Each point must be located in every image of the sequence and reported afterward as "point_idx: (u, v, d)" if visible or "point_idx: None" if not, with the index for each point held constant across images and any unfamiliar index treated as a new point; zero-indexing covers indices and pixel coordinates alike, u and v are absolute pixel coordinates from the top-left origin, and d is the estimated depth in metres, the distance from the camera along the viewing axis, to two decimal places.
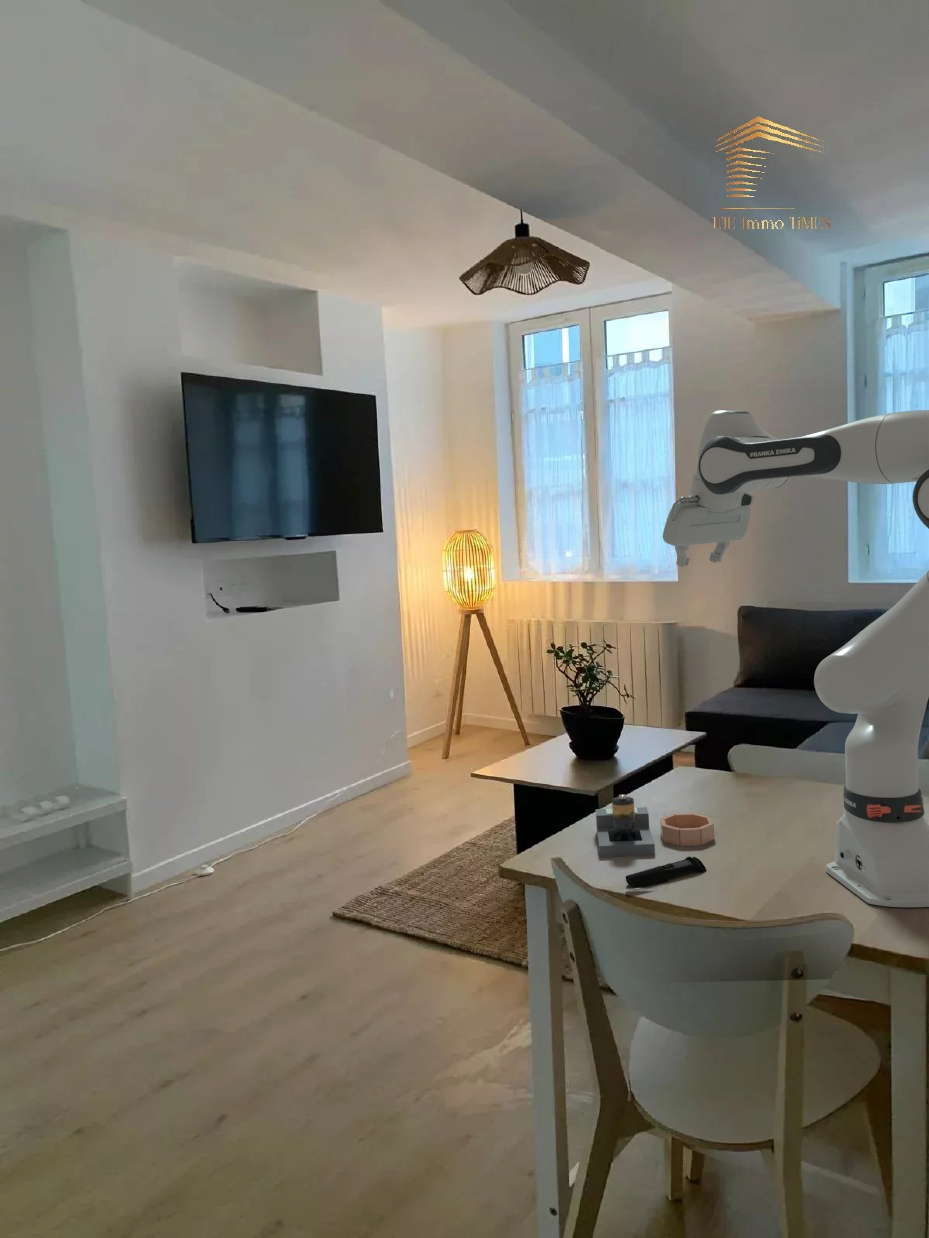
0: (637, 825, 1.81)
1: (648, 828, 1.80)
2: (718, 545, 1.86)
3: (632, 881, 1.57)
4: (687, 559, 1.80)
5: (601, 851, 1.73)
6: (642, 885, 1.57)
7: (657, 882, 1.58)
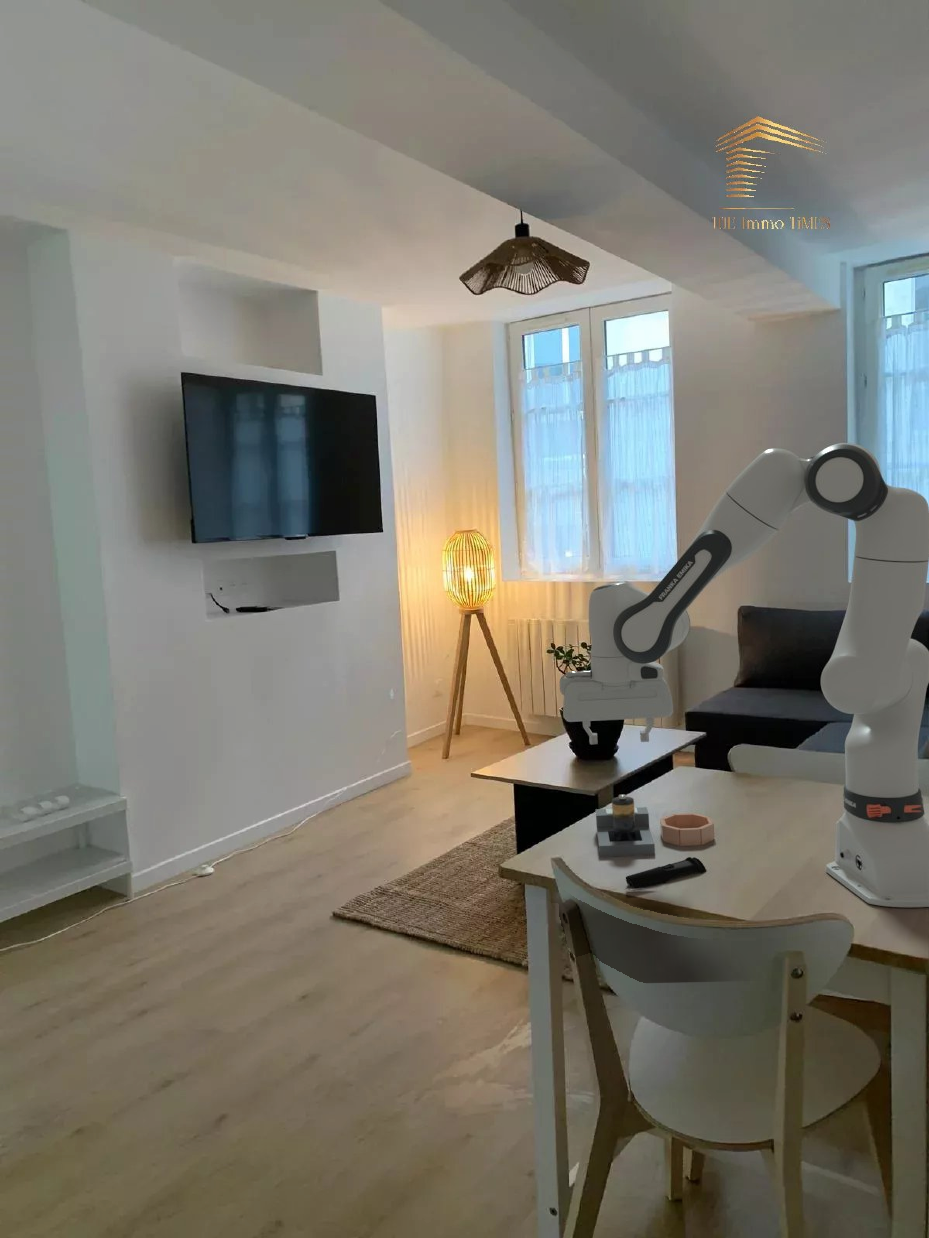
0: (637, 825, 1.81)
1: (648, 828, 1.80)
2: (647, 723, 1.75)
3: (632, 882, 1.56)
4: (594, 736, 1.75)
5: (601, 851, 1.73)
6: (642, 886, 1.57)
7: (657, 883, 1.58)
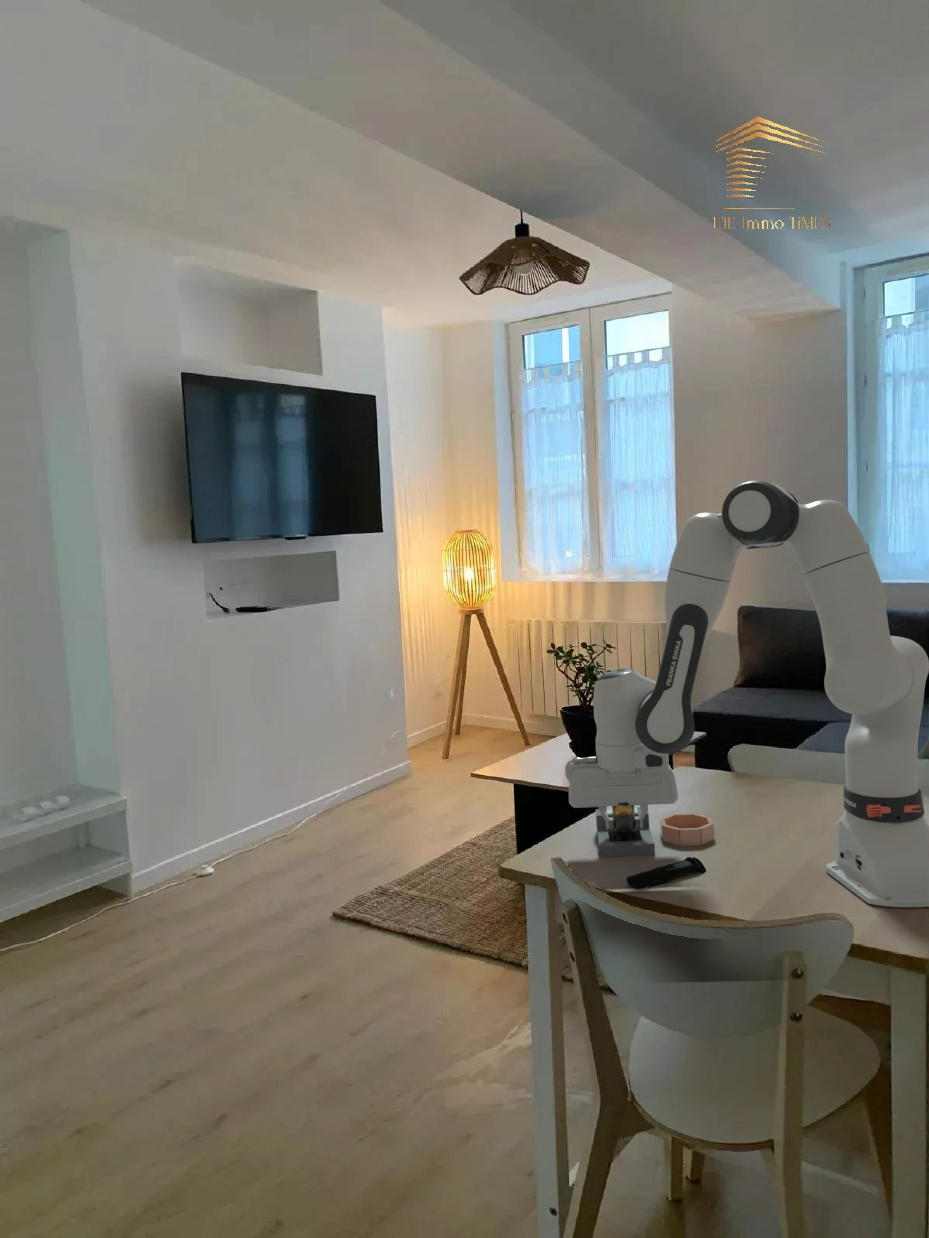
0: None
1: (648, 828, 1.80)
2: (642, 809, 1.77)
3: (633, 882, 1.56)
4: (610, 821, 1.76)
5: (601, 851, 1.73)
6: (643, 886, 1.56)
7: (658, 883, 1.57)
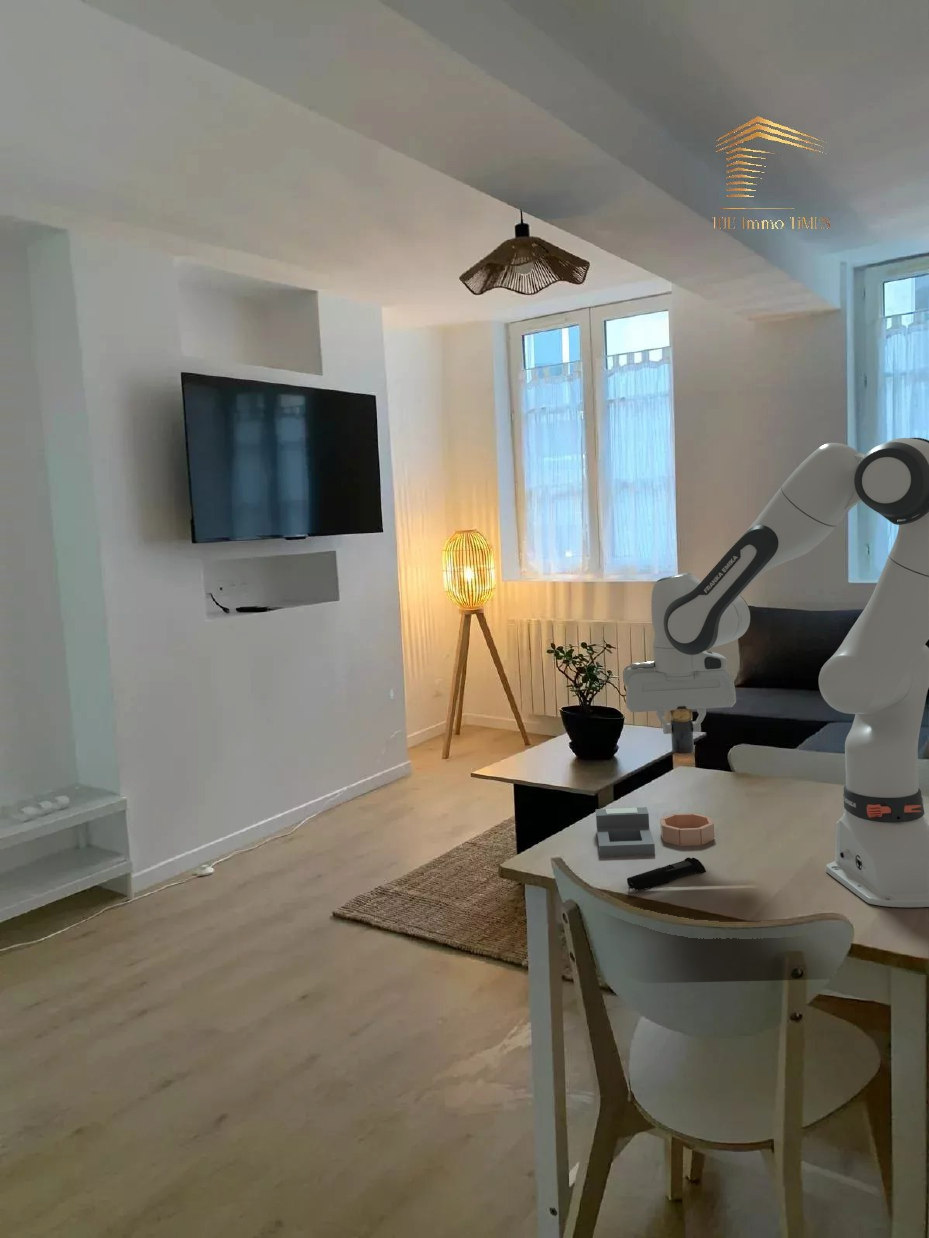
0: (637, 825, 1.81)
1: (648, 828, 1.80)
2: (699, 714, 1.78)
3: (634, 883, 1.56)
4: (668, 726, 1.77)
5: (601, 851, 1.73)
6: (644, 887, 1.56)
7: (658, 884, 1.57)
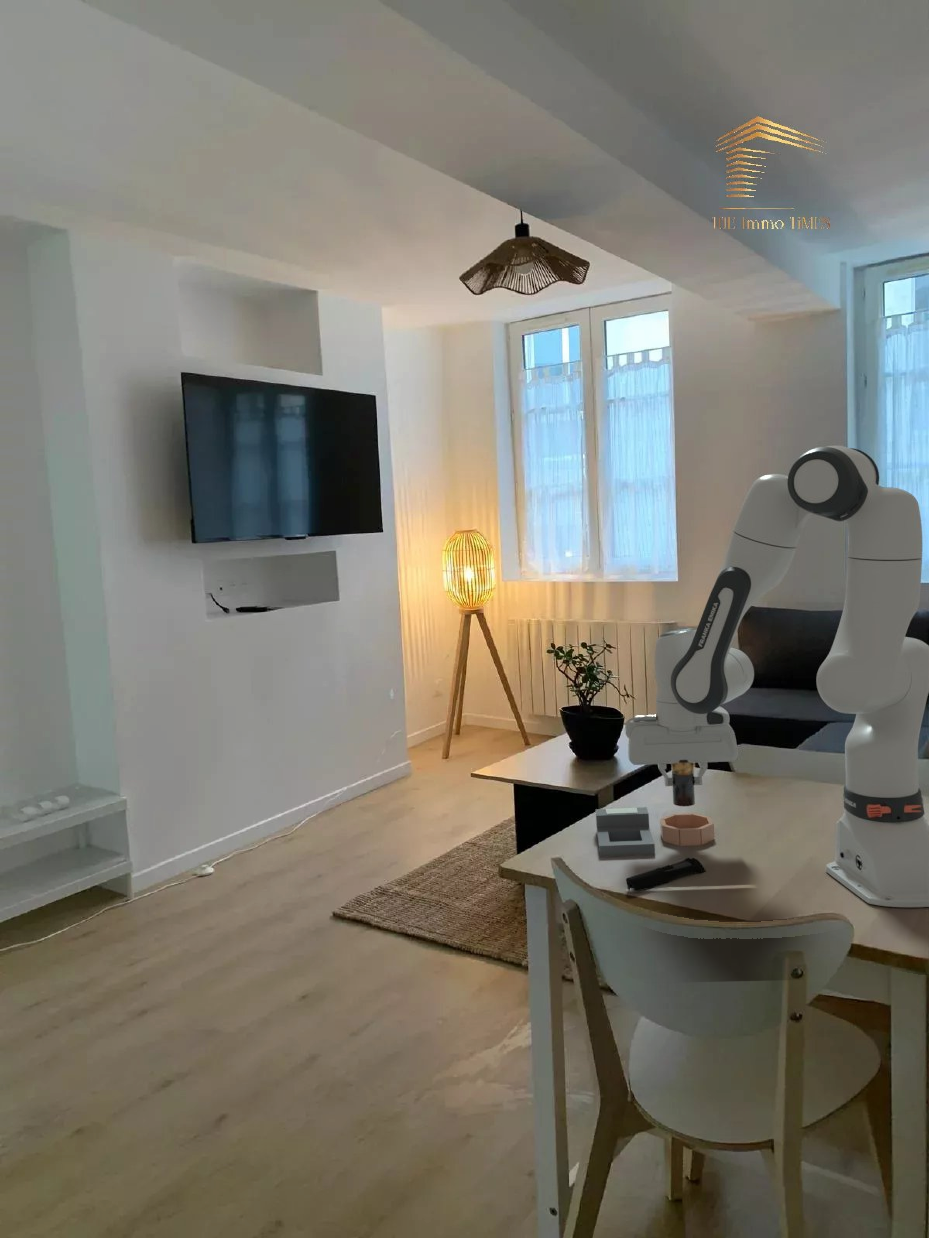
0: (637, 825, 1.81)
1: (648, 828, 1.80)
2: None
3: (633, 883, 1.56)
4: (670, 778, 1.78)
5: (601, 851, 1.73)
6: (643, 887, 1.56)
7: (657, 884, 1.57)
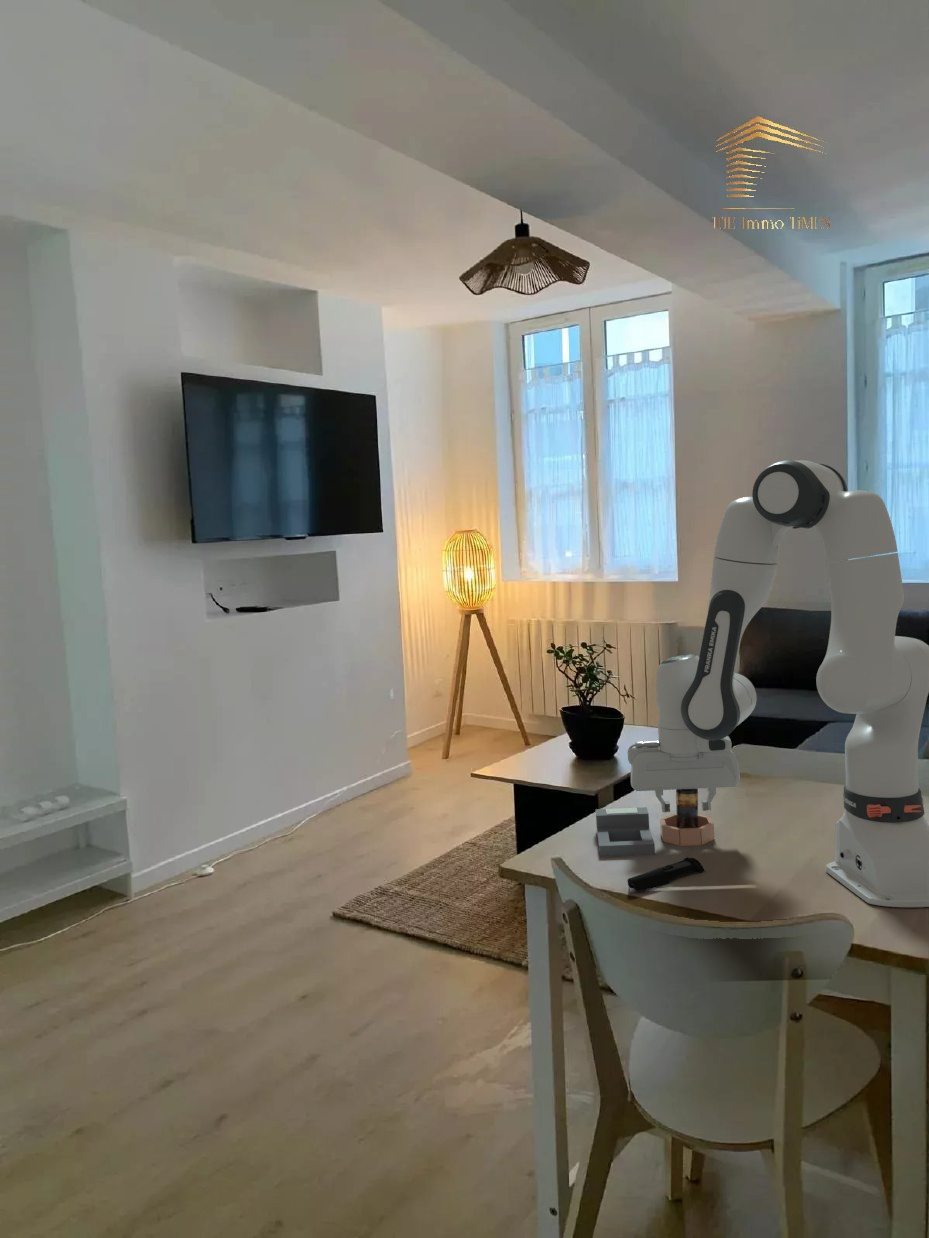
0: (637, 825, 1.81)
1: (648, 828, 1.80)
2: (709, 792, 1.79)
3: (634, 884, 1.56)
4: (667, 804, 1.79)
5: (601, 851, 1.73)
6: (644, 888, 1.56)
7: (659, 884, 1.57)
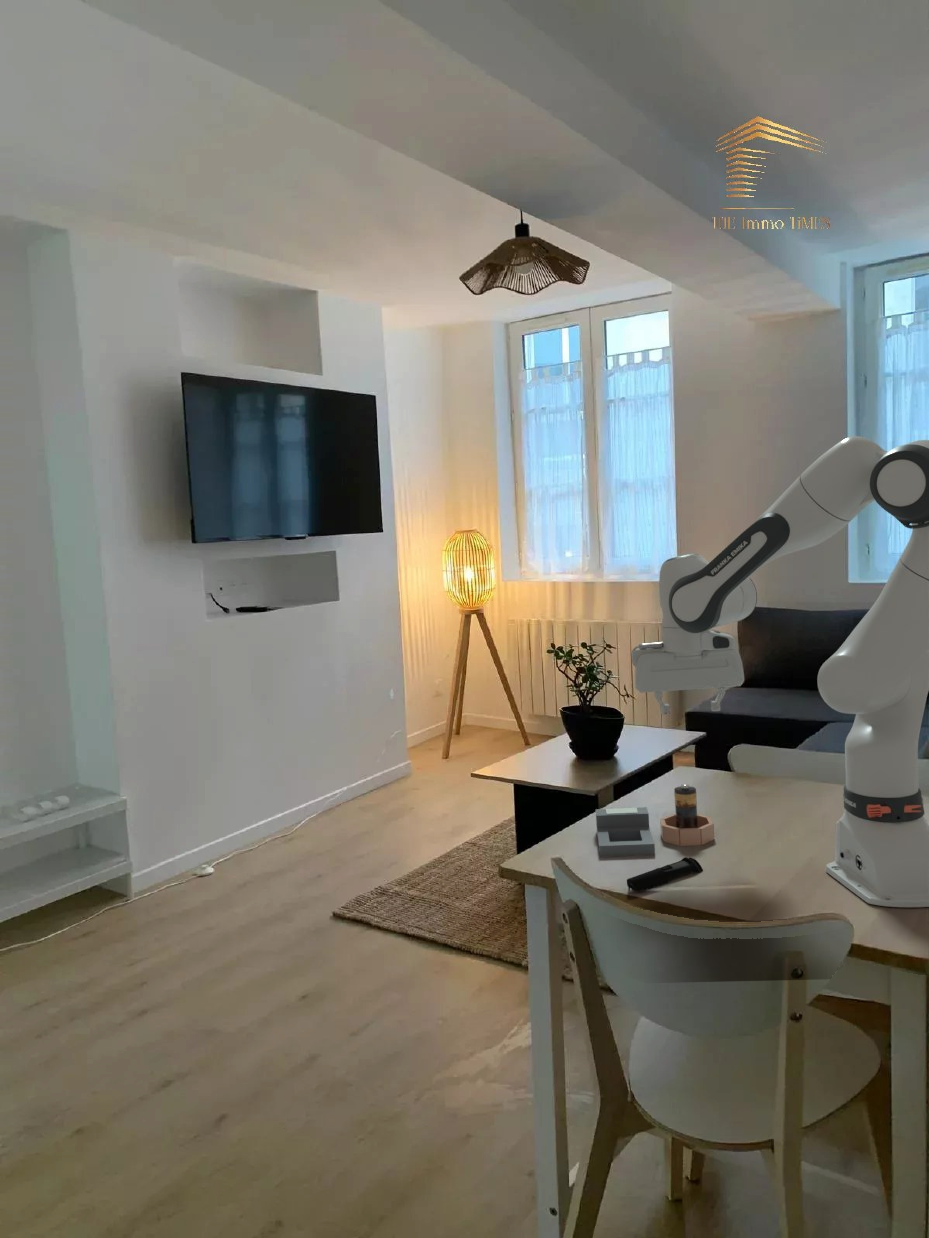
0: (637, 825, 1.81)
1: (648, 828, 1.80)
2: (718, 693, 1.78)
3: (634, 884, 1.56)
4: (666, 706, 1.78)
5: (601, 851, 1.73)
6: (644, 888, 1.56)
7: (658, 884, 1.57)
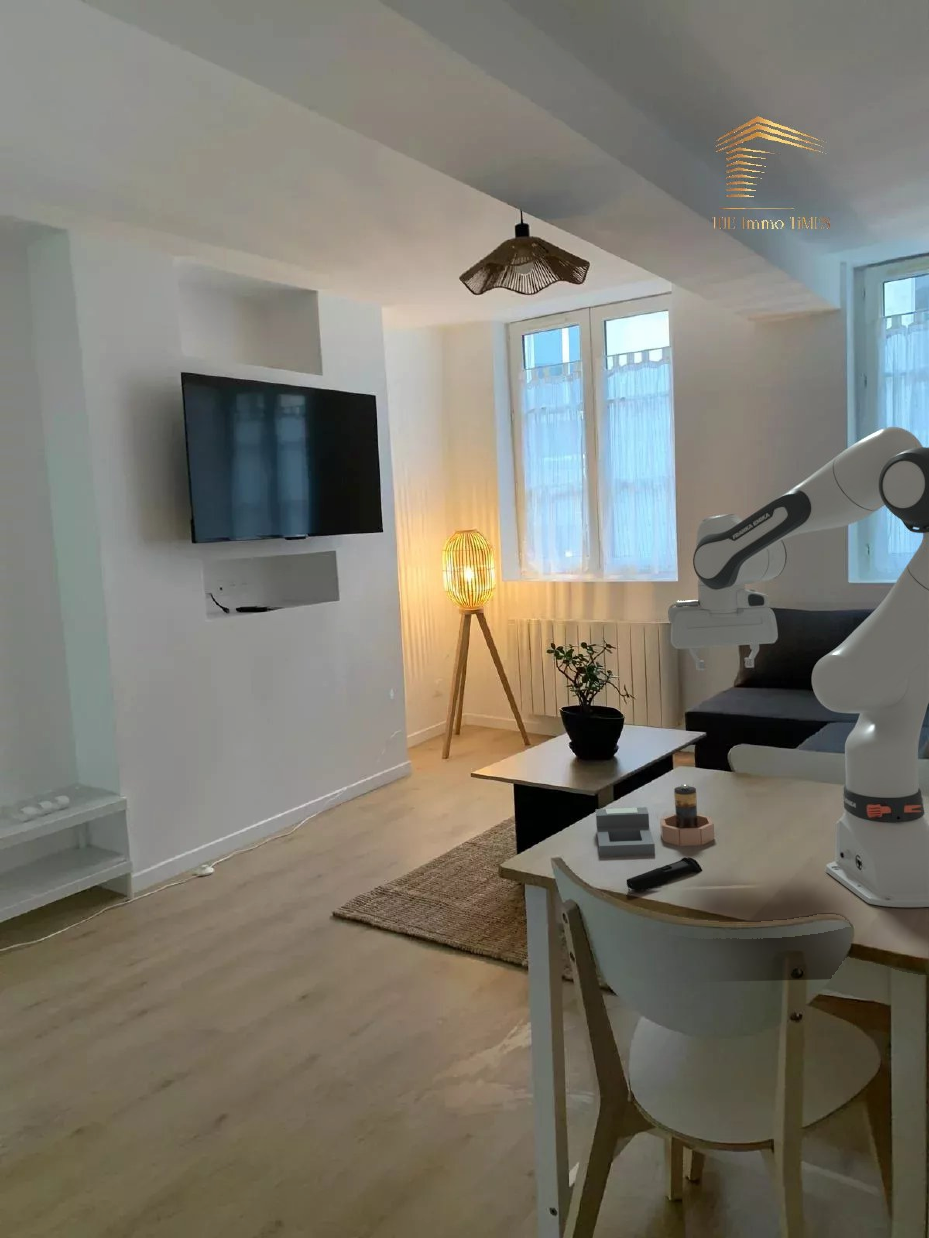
0: (637, 825, 1.81)
1: (648, 828, 1.80)
2: (752, 650, 1.84)
3: (634, 884, 1.55)
4: (701, 662, 1.84)
5: (601, 851, 1.73)
6: (643, 888, 1.56)
7: (657, 884, 1.57)
